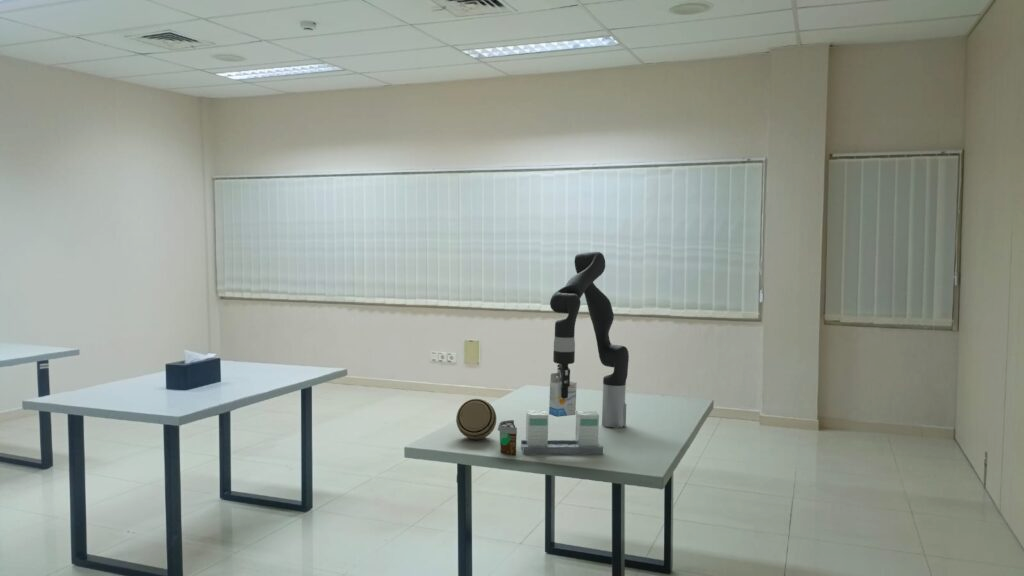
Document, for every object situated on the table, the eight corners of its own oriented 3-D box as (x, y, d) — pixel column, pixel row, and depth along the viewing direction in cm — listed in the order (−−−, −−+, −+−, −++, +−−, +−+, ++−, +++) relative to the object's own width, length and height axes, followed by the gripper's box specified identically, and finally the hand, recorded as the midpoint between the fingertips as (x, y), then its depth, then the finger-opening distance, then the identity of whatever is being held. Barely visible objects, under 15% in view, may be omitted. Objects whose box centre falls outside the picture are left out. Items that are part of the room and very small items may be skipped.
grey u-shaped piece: (597, 446, 268) (598, 410, 268) (603, 454, 259) (604, 416, 258) (521, 446, 266) (521, 409, 266) (523, 454, 256) (524, 415, 256)
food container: (496, 447, 265) (496, 419, 264) (513, 447, 265) (513, 419, 265) (498, 456, 252) (499, 427, 252) (516, 456, 253) (516, 428, 252)
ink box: (556, 417, 257) (558, 375, 257) (548, 414, 262) (549, 373, 261) (576, 414, 262) (577, 373, 261) (567, 412, 266) (568, 371, 266)
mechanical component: (448, 437, 277) (449, 397, 277) (480, 432, 286) (481, 393, 286) (470, 446, 265) (471, 404, 265) (503, 440, 275) (504, 400, 274)
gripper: (578, 352, 254) (576, 400, 255) (571, 347, 268) (570, 392, 269) (556, 352, 253) (555, 400, 254) (551, 346, 268) (549, 392, 268)
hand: (562, 395), depth 262 cm, fingers closed on ink box, 6 cm apart
